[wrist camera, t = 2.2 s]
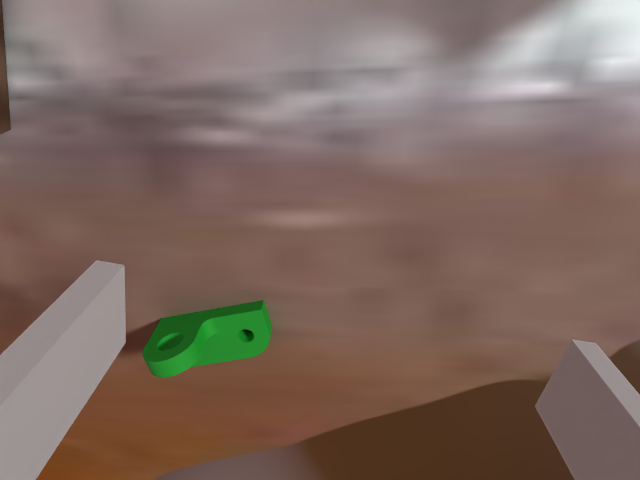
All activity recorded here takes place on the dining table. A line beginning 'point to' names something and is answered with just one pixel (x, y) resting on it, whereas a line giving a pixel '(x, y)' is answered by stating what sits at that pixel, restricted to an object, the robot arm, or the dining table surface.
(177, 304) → the dining table surface
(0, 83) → the board
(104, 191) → the dining table surface
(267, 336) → the mechanical part
